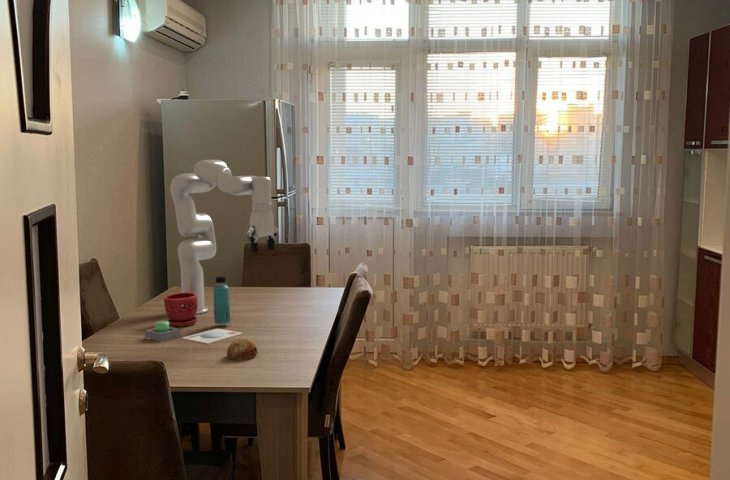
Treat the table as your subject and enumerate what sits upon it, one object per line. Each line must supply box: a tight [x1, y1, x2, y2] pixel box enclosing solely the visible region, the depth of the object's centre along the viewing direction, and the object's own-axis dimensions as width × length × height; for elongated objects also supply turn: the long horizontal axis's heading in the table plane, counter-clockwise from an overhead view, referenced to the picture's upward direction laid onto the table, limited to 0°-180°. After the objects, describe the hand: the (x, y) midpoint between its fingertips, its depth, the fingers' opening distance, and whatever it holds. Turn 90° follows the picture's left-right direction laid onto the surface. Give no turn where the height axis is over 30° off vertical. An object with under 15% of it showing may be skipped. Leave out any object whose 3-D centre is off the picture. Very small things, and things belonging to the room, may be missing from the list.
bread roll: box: [226, 338, 259, 361], centre depth 255 cm, size 10×10×8 cm
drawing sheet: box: [181, 327, 244, 345], centre depth 283 cm, size 14×18×1 cm
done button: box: [154, 320, 170, 333], centre depth 281 cm, size 5×5×4 cm
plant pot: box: [163, 292, 198, 328], centre depth 302 cm, size 13×13×12 cm
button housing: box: [144, 326, 181, 342], centre depth 281 cm, size 9×9×3 cm
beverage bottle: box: [213, 275, 232, 325], centre depth 298 cm, size 6×7×20 cm
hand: (263, 251), depth 297 cm, fingers open, 9 cm apart
